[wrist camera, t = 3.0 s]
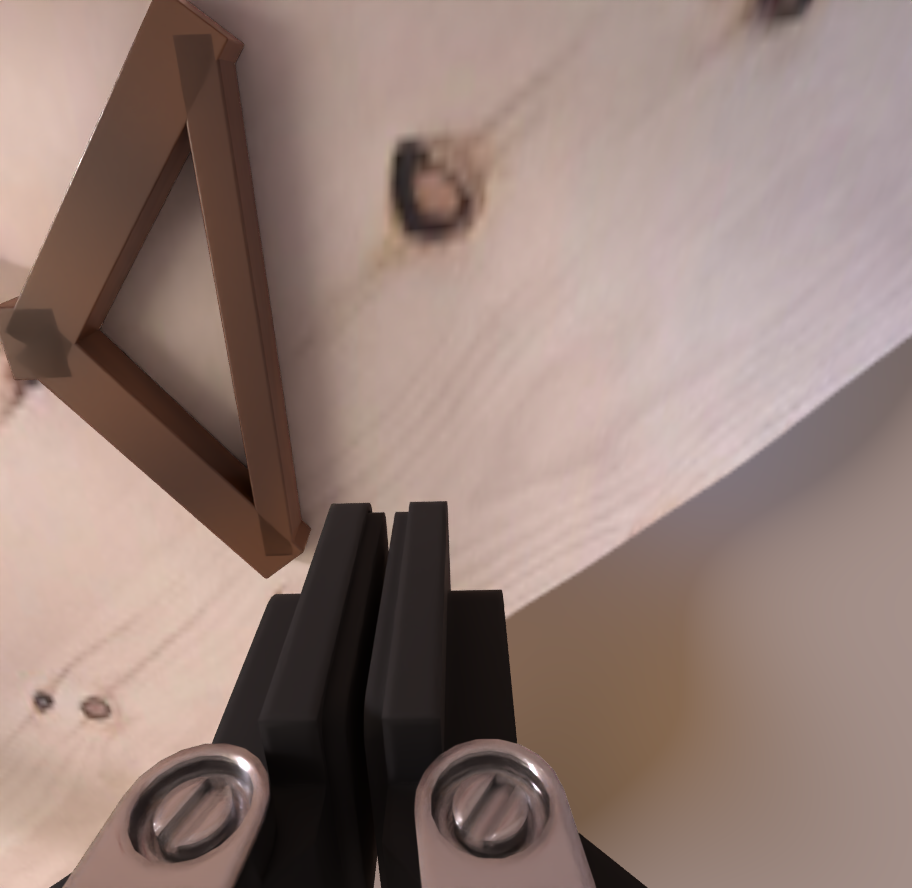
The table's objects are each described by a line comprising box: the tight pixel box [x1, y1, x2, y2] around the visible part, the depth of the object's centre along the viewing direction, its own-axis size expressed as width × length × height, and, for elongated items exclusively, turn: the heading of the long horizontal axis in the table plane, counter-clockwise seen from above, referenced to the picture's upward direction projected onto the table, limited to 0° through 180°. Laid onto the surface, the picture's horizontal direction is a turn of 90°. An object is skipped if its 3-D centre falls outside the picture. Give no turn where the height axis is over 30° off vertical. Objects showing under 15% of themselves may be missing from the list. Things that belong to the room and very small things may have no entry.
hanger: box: [0, 0, 311, 579], centre depth 22 cm, size 11×18×2 cm, turn 2°
